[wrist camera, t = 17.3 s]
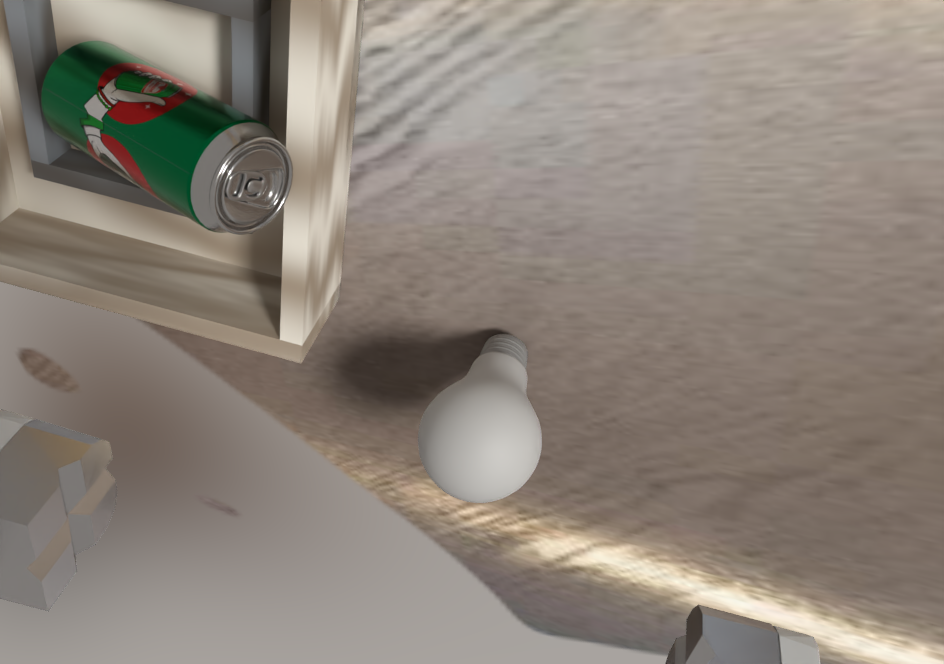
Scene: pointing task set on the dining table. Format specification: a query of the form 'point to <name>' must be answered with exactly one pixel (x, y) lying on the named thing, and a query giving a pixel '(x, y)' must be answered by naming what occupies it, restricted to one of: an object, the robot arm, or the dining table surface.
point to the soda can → (168, 137)
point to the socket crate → (152, 221)
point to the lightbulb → (483, 427)
